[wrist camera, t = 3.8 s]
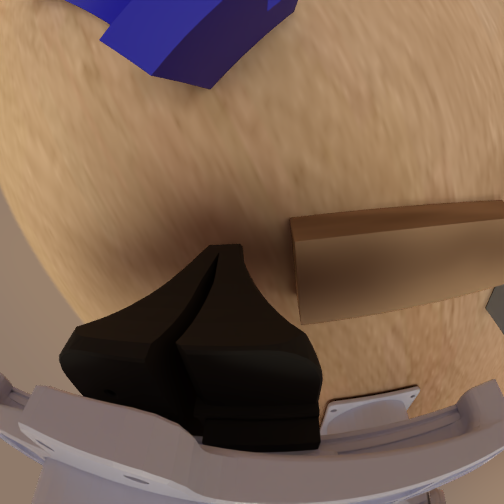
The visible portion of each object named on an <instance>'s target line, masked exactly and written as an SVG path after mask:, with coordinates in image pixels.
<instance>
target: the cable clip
mask: <svg viewBox="0 0 504 504" xmlns="http://www.w3.org/2000/svg"><path fill="white" fill-rule="evenodd" d="M65 1H67V2H70V3H72V4H74V5H76V6H78V7H80V8H82V9H84V10H86V11H88V12H90V13H92V14H94V15H95V16H97V17H99V18H100V19H102V20H104V21H105V22H107V23H108V24H110V27H109V28H108V29H107V30H106V32H105V33H104V34H103V36H102V37H101V38H100V41H101V42H103V43H104V44H106V45H107V46H109V47H110V48H112V49H113V50H115V51H116V52H118V53H119V54H121V55H122V56H124V57H125V58H127V59H128V60H130V61H131V62H133V63H134V64H135V65H137V66H138V67H140V68H141V69H143V70H144V71H145V72H147V73H148V74H149V75H151V76H155V77H160V78H165V79H170V80H174V81H179V82H183V83H187V84H191V85H195V86H199V87H203V88H207V89H211V88H212V87H213V86H214V85H215V84H216V83H217V82H218V81H219V80H220V78H221V77H222V76H223V75H224V74H225V73H226V72H227V71H228V70H229V69H230V68H231V67H232V66H233V65H234V64H235V63H236V62H237V61H238V60H239V59H240V58H241V57H242V56H243V55H244V54H245V53H247V52H248V51H249V50H250V49H251V48H252V47H253V46H254V45H255V44H256V43H257V42H258V41H259V40H261V39H262V38H263V37H264V36H265V35H266V34H267V33H269V32H270V31H271V30H272V29H273V28H274V27H276V26H277V25H278V24H279V23H280V22H282V21H283V20H284V19H285V18H286V17H288V16H289V15H290V14H291V13H293V12H294V10H295V7H296V4H297V1H298V0H65Z"/></svg>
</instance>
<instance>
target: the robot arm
mask: <svg viewBox="0 0 504 504" xmlns="http://www.w3.org/2000/svg"><path fill="white" fill-rule="evenodd" d="M59 361H60V364H61V367H62V370H63V371H64V373H65V374H66V376H67V377H68V378H69V380H70V381H71V382H72V383H73V385H74V386H75V387H76V388H77V389H78V391H79V392H80V393H81V394H82V395H83V396H80V395H76V394H73V393H70V392H66V391H63V390H60V389H57V388H54V387H50V386H43V385H39V386H36V387H35V388H34V390H33V392H32V394H31V395H30V394H29V393H26V392H24V391H22V390H19V389H17V388H15V387H13V386H12V384H11V383H10V381H9V380H8V379H7V378H6V377H5V376H4V375H3V374H2V373H0V438H1V439H3V440H4V441H5V442H7V443H8V444H10V445H11V446H12V447H14V448H15V449H17V450H18V451H20V452H22V453H23V454H25V455H26V456H28V457H29V458H31V459H33V460H34V461H36V462H38V463H39V464H41V465H43V468H42V471H41V474H40V477H39V480H38V483H37V487H36V489H35V493H34V497H33V500H32V503H31V504H446V501H445V497H444V492H443V490H440V489H437V487H440V486H442V485H444V484H446V483H449V482H451V481H453V480H455V479H457V478H459V477H461V476H463V475H465V474H467V473H469V472H471V471H473V470H475V469H477V468H478V467H480V466H482V465H483V464H484V463H486V462H488V461H489V460H491V459H492V458H493V457H495V456H496V455H498V454H499V453H500V452H502V451H503V450H504V397H503V394H502V392H501V390H500V388H499V386H498V384H497V382H496V380H495V379H492V380H490V381H487V382H485V383H482V384H480V385H478V386H475V387H473V388H471V389H469V390H468V391H467V392H465V393H464V394H463V395H462V396H461V397H460V399H459V400H458V402H457V404H455V405H452V406H449V407H447V408H444V409H441V410H438V411H435V412H431V413H428V414H425V415H422V416H418V417H415V418H411V419H409V418H408V415H407V411H406V410H407V409H408V408H409V406H410V405H411V404H412V402H413V401H414V399H415V398H416V396H417V395H418V394H419V392H420V388H419V387H418V386H416V387H412V388H407V389H403V390H398V391H394V392H389V393H384V394H378V395H373V396H367V397H361V398H354V399H347V400H339V401H333V402H330V403H329V404H328V406H327V409H326V412H325V416H324V419H323V422H322V425H321V428H319V418H318V417H319V403H318V400H319V395H320V391H321V386H322V380H323V377H322V370H321V366H320V363H319V360H318V358H317V355H316V353H315V351H314V348H313V346H312V344H311V342H310V340H309V339H308V337H307V335H306V333H304V332H303V331H301V330H300V329H298V328H297V327H295V326H294V325H292V324H291V323H289V322H288V321H287V320H286V319H285V318H284V317H282V316H281V315H280V314H279V313H278V312H277V311H276V310H275V309H274V308H273V307H272V306H271V305H270V304H269V303H268V302H267V300H266V299H265V298H264V297H263V295H262V294H261V293H260V291H259V290H258V288H257V287H256V285H255V284H254V282H253V280H252V278H251V277H250V275H249V273H248V271H247V268H246V266H245V263H244V258H243V248H242V246H241V245H240V244H227V245H209V246H208V247H207V248H206V249H205V250H204V251H202V252H201V253H200V254H199V255H198V256H197V257H196V258H195V259H194V260H193V261H192V262H191V263H190V264H189V265H187V266H186V267H185V268H184V269H183V270H182V271H181V272H179V273H178V274H177V275H176V276H175V277H173V278H172V279H171V280H170V281H169V282H167V283H166V284H165V285H163V286H162V287H160V288H159V289H157V290H156V291H154V292H153V293H151V294H150V295H148V296H147V297H145V298H143V299H141V300H139V301H138V302H136V303H134V304H132V305H131V306H129V307H127V308H125V309H122V310H120V311H118V312H116V313H114V314H111V315H109V316H107V317H104V318H101V319H99V320H96V321H93V322H90V323H87V324H84V325H81V326H77V327H76V328H75V330H74V332H73V333H72V335H71V337H70V338H69V340H68V342H67V343H66V345H65V347H64V348H63V350H62V352H61V354H60V355H59ZM429 492H430V497H429Z"/></svg>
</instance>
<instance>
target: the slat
mask: <svg viewBox="0 0 504 504" xmlns="http://www.w3.org/2000/svg"><path fill="white" fill-rule="evenodd" d="M290 226H291V235H292V246H293V256H294V267H295V279H296V291H297V300H298V307H299V314H300V321H301V325H307V324H315V323H322V322H330V321H337V320H344V319H350V318H357V317H363V316H369V315H375V314H381V313H386V312H391V311H397V310H402V309H407V308H412V307H417V306H421V305H426V304H430V303H435V302H439V301H444V300H448V299H452V298H456V297H460V296H464V295H468V294H471V293H475V292H479V291H482V290H486V289H489V288H493V287H496V286H500V285H503V284H504V202H503V201H502V200H496V201H476V202H458V203H443V204H429V205H416V206H403V207H391V208H380V209H369V210H358V211H348V212H338V213H328V214H319V215H310V216H301V217H292V218H290Z"/></svg>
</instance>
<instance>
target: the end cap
mask: <svg viewBox="0 0 504 504" xmlns="http://www.w3.org/2000/svg"><path fill="white" fill-rule="evenodd" d="M486 310H487V311H488V312H489V314H490V315H491V317H492V318H493V319H494V321H495V322H496V324H497V325H498V327H499V328H500V330H501V331H502V333H503V334H504V284H503V285H500V286H496V287H495V288H494V291H493V293H492V295H491V297H490V300H489V302H488V304H487V306H486Z"/></svg>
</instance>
